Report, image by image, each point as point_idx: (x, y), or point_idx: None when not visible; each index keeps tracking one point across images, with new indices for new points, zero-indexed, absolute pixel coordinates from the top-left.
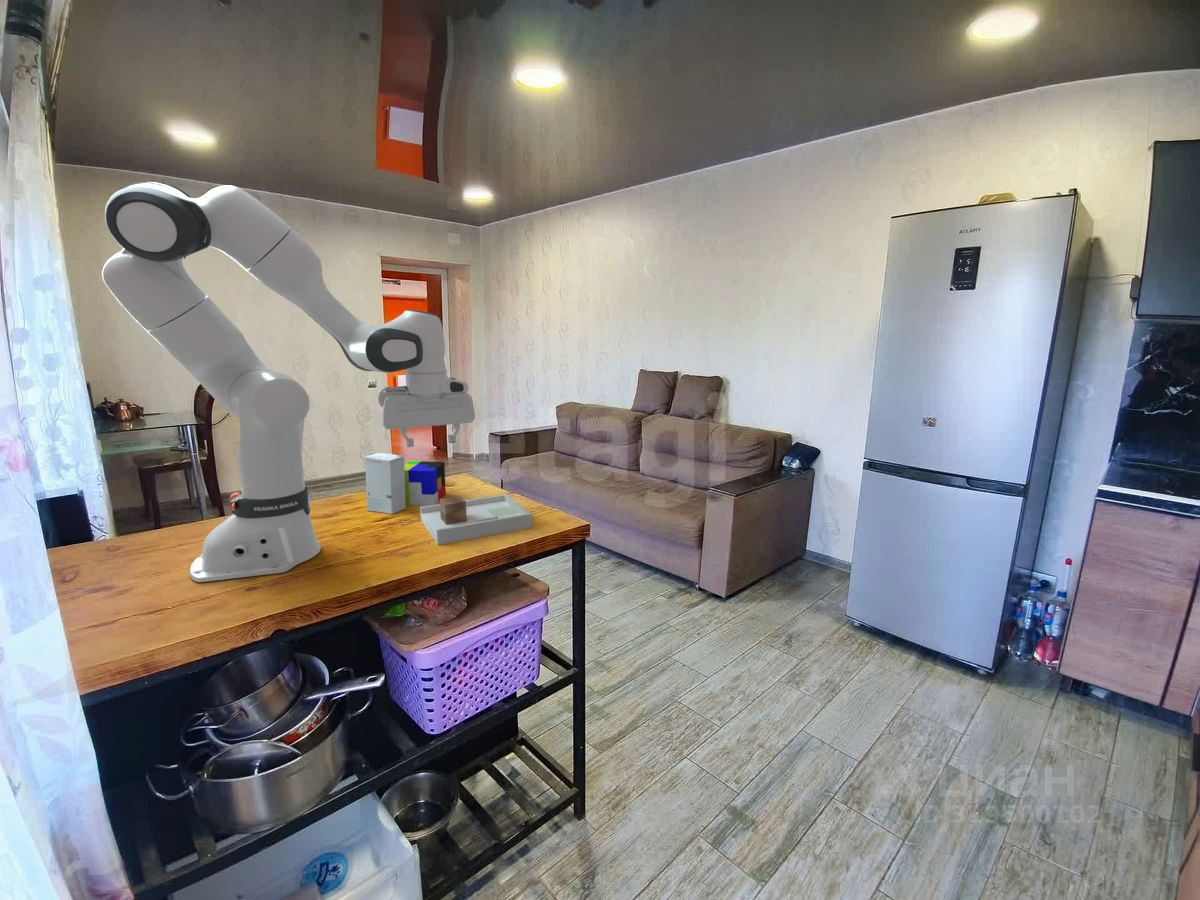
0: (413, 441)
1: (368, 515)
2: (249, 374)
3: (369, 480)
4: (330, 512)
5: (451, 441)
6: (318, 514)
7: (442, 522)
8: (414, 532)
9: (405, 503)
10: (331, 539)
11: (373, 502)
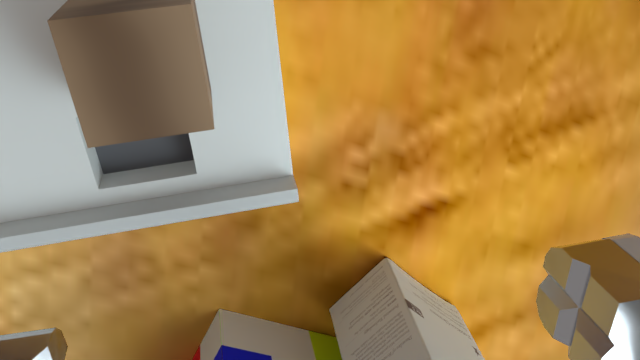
0: (602, 282)
1: (459, 265)
2: None
3: None
4: None
5: (19, 340)
6: None
7: (207, 22)
8: (332, 35)
9: (326, 339)
10: (616, 71)
11: (450, 318)
